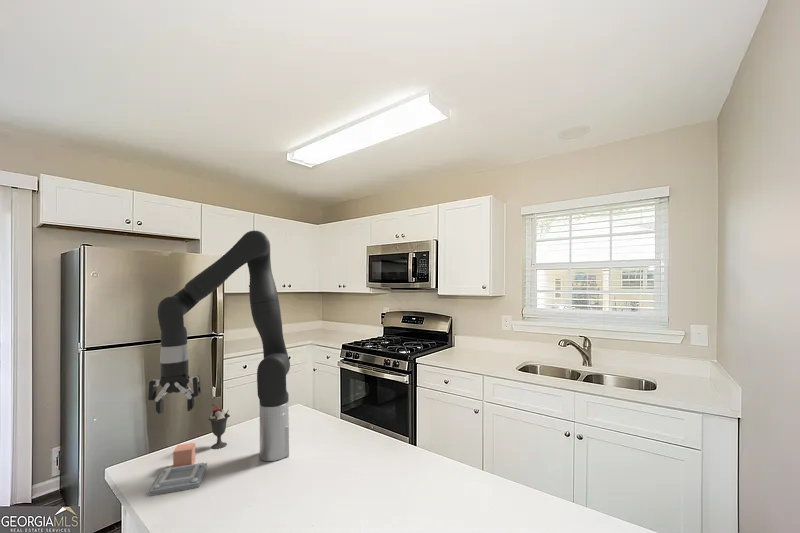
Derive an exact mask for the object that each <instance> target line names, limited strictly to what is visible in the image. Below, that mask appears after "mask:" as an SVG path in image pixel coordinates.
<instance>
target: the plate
mask: <svg viewBox="0 0 800 533" xmlns="http://www.w3.org/2000/svg"><path fill="white" fill-rule="evenodd" d="M207 469H208V462H206V463H205V462H200V463H194V464H192V465H185V466H179V467H173V466H172V467H166V468H164V469H163V470H162V471H161V473H160V475H159V476H158V477H157V479H156V481H155V482H154V484H153V485H152V487H151V488H150V490H149V496H156V495H162V494H169V493H173V492H179V491H184V490H190V489H197V488H200V485H201V482H202V481H203V478H204V476H205V473H206V471H207Z"/></svg>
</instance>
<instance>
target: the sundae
mask: <svg viewBox="0 0 800 533" xmlns="http://www.w3.org/2000/svg"><path fill="white" fill-rule="evenodd" d="M211 406H213V407H214V408H213V409H212V413H211V414H210V416H209V418H208V421H210V424H211V425H210V426H211V430H212V434H213V435H214V436H215V437H216V443H214V444H212V445H211V449H213V450H219V448H220V449H222V448H225V447H226V446H227V442H226V441H225V442H223V441H222V436H223V434H225V433H226V427H227V421H228V418H230V417H231V415H230V414H229V411H230V410H229V409H227V411H225V410H224V409H223V408H220V407H217V405H215V403H214V404H211Z"/></svg>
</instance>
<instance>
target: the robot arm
mask: <svg viewBox="0 0 800 533" xmlns="http://www.w3.org/2000/svg"><path fill="white" fill-rule="evenodd" d="M246 264H247V269H248V273H249V288H248V289H249V292H248V294H249V304H250V305H249V306H250V311H251V316H252V321H253V324H254V327H255V328H256V329H257V332H258V335H259V337H260V339H261V343H262V352H263V353H262V354H263V359H262V360H261V361H260V362H259V364H258V365H257V369H256V383H257V384H256V385H257V386H256V388H257V397H258V400H259V458H260V460H261V461H265V462H274V461H279V460H282V459H284V458H287V457H290V417H289V416H290V415H289V410H290V409H289V406H290V405H289V404H290V403H289V400H290V399H289V392H288V391H287V375H288V373H289V371H290V369H291V362H290V358H289V357H290V356H289V354H288V351H287V347H286V344H285V338H284V332H283V323H282V322H283V321H282V315H281V307H280V300H279V294H278V291H277V286H276V282H275V279H274V276H273V271H272V263H271V242H270V240H269V237H268V236H267V235H266V234H265V233H264V232H262V231H259V230H250V231H247V232H246V233H244V234H243V235H242V236H241V237H240V238H239V239H238V241H236V243H235V244H234V245H232V247H231V248H230V249H229V250H228V251H227V252H225V254H223V255H222V256H221V257H220V258H218V259H217V260H216V261H215V262H213V263H212V264H211V265H209V266H208V267H207V268H205V269H203V271H201V272H199V273H198V274H197V275H196V276H194V277H193V278H191V279H190V280H189V281H188V282H187V283H186V284H185V285H184V287H183V288H182V289H180V290H179V291H177V292H176V293H175V294H173V295H172V296H167V297H164V298H162V300H160V301H159V303H158V306H157V319H158V325H159V328H160V332H161V334H160V352H159V353H160V354H159V355H160V357H159V360H160V363H159V364H160V370H159V371H160V379H157V378H154V379H152V380H150V381H149V382H148V397H147V398H148V401H154V402H155V412H156V413H157V414H160V415H161V414H162V413H164V406H165V405H164V399H163V398H164V397H165V396H166V395H167V394H172V393H181V394H183V395H184V396H185V397H186V398H187V399H186V402H187V403H186V404H187V409H186V410H187V412H190V411H192V410H193V408H195V398H196V397H198V396H199V395H200V394H201V393H202V389H201V378H200V375H196V376H191V377H190V375H189V372H190V371H189V349H188V331H187V327H185V325H184V324H185V321H184V316H185V315H186V314H187V313H189V311H190V310H191V309H193V308H195V306H196V305H197V304H198V303H199V302H201V301H202V300H203V299H206V297H208V296H209V295H210V294H211V293H213V292H214V291H216V290H217V289H218V288H219V287H220V286H221V285H223V284H224V283H225V281H227V280H228V278H230V277H231V276H232V275H233V274H234V273H236V271H237V270H238V269H240V268H242V266H244V265H246ZM189 383H191V385H192V388H191V387H190V386H189ZM158 386H161V387H162V388H161V390H160V391H159V392H157V391H158ZM192 389H193V390H192ZM157 393H158V394H157Z"/></svg>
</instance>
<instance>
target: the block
mask: <svg viewBox="0 0 800 533" xmlns="http://www.w3.org/2000/svg"><path fill="white" fill-rule="evenodd" d="M172 457H173V461H172V462H173V463H172V464H173V465H172V467H179V466H185V465H192V464H196V463H195V462H196V442H191V443H190V442H189V443H182V444H177V446H176V447H175V449H174V450H173V454H172Z"/></svg>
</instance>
